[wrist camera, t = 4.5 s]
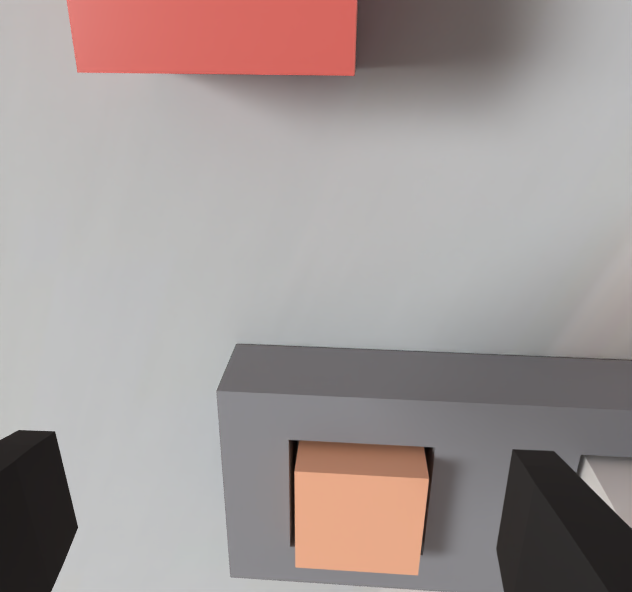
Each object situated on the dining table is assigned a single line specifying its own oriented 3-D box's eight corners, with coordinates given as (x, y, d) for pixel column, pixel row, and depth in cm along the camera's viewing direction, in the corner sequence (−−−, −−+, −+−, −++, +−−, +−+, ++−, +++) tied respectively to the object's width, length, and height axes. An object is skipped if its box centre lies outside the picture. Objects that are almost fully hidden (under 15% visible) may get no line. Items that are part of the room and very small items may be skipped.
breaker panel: (766, 365, 19) (836, 419, 16) (697, 545, 22) (745, 615, 19) (236, 344, 20) (216, 391, 17) (245, 518, 23) (230, 581, 20)
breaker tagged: (417, 409, 20) (428, 478, 16) (408, 496, 21) (417, 575, 18) (304, 403, 20) (294, 471, 17) (304, 490, 22) (295, 567, 18)
